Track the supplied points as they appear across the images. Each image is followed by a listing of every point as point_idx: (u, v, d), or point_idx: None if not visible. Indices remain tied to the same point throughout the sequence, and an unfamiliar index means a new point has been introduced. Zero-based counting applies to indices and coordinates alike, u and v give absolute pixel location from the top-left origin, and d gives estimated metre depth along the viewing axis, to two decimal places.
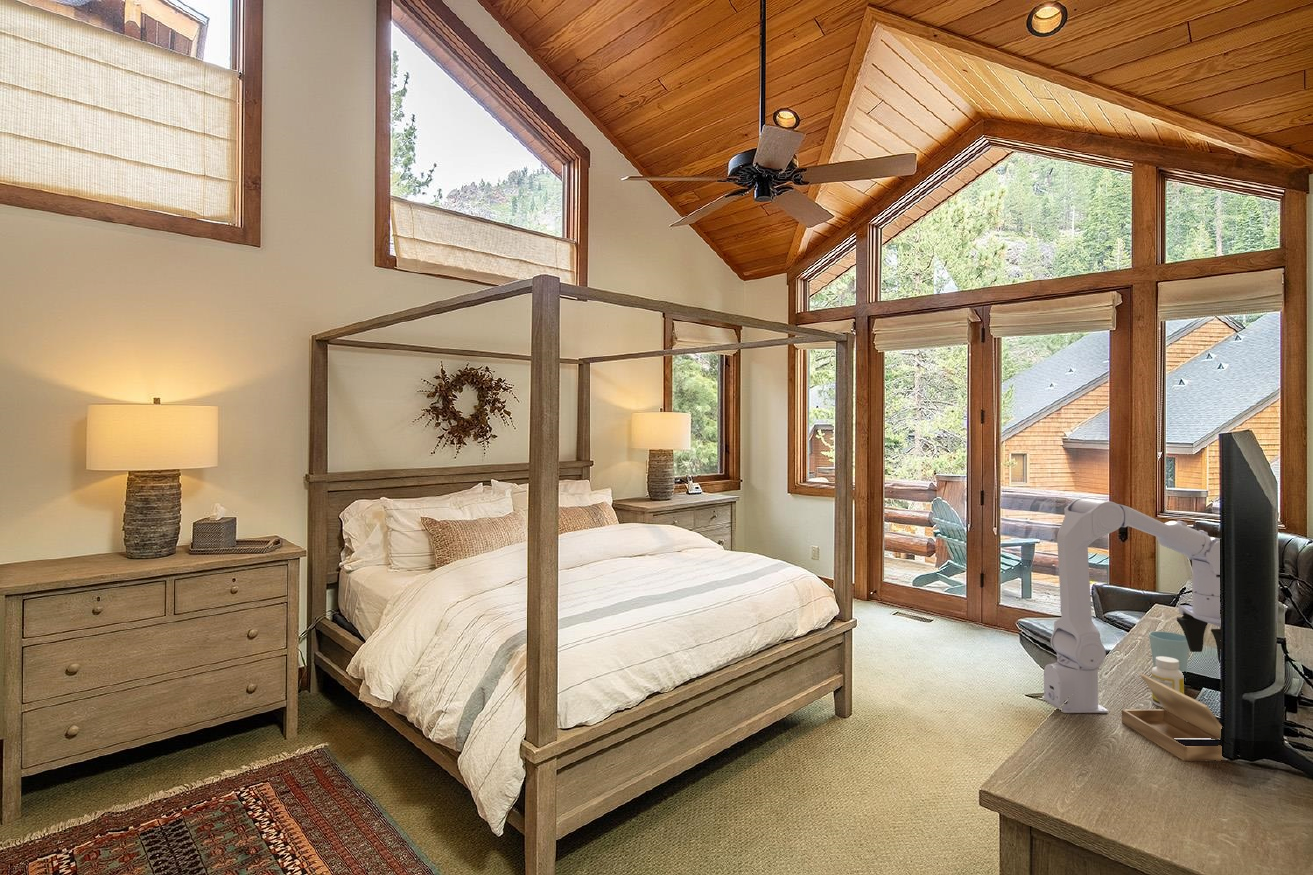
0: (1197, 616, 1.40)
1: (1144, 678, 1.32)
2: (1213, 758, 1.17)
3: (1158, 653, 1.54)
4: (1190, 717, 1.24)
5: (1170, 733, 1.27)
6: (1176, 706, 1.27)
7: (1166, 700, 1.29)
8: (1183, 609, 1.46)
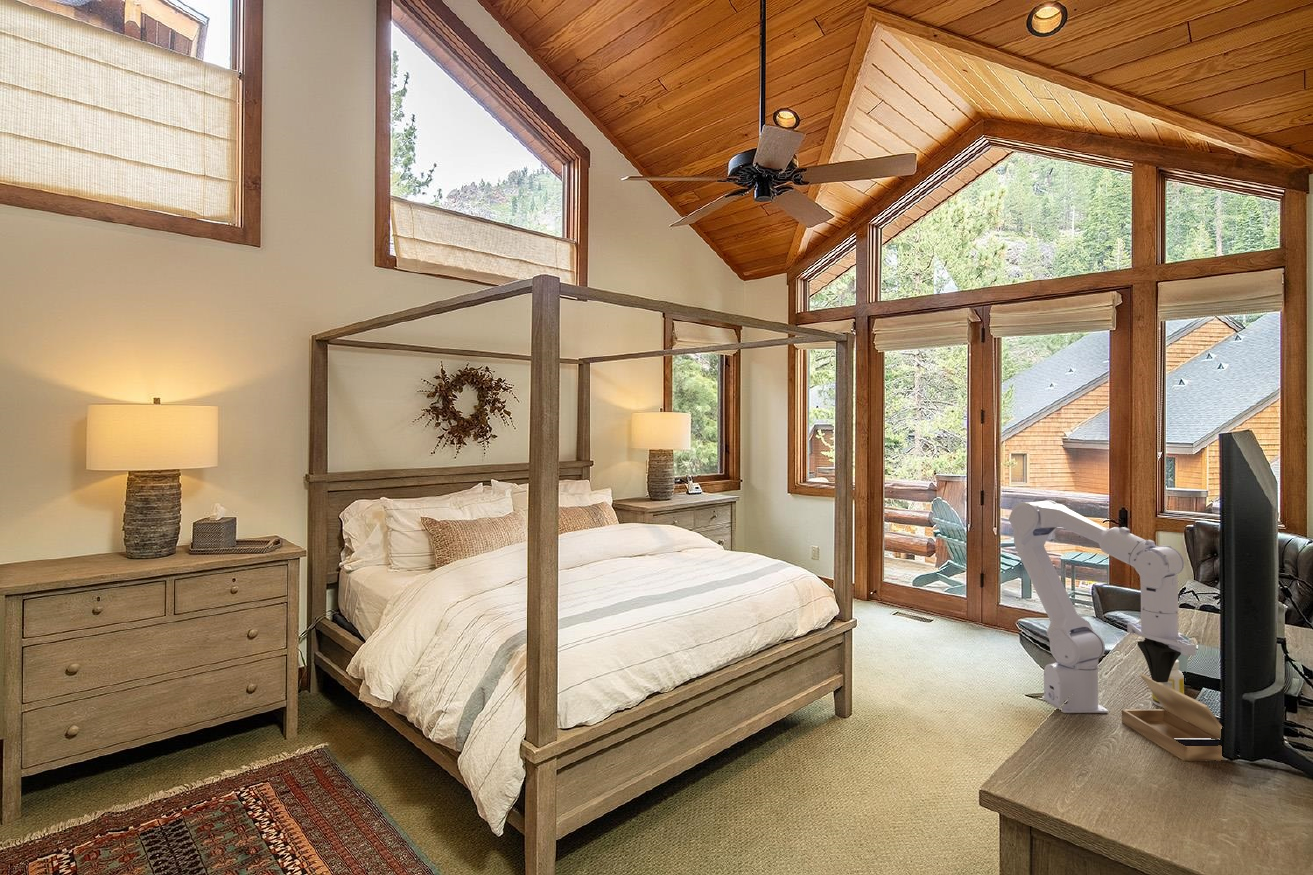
0: (1145, 635, 1.26)
1: (1144, 678, 1.32)
2: (1213, 758, 1.17)
3: None
4: (1190, 717, 1.24)
5: (1170, 733, 1.27)
6: (1176, 706, 1.27)
7: (1166, 700, 1.29)
8: (1132, 627, 1.32)
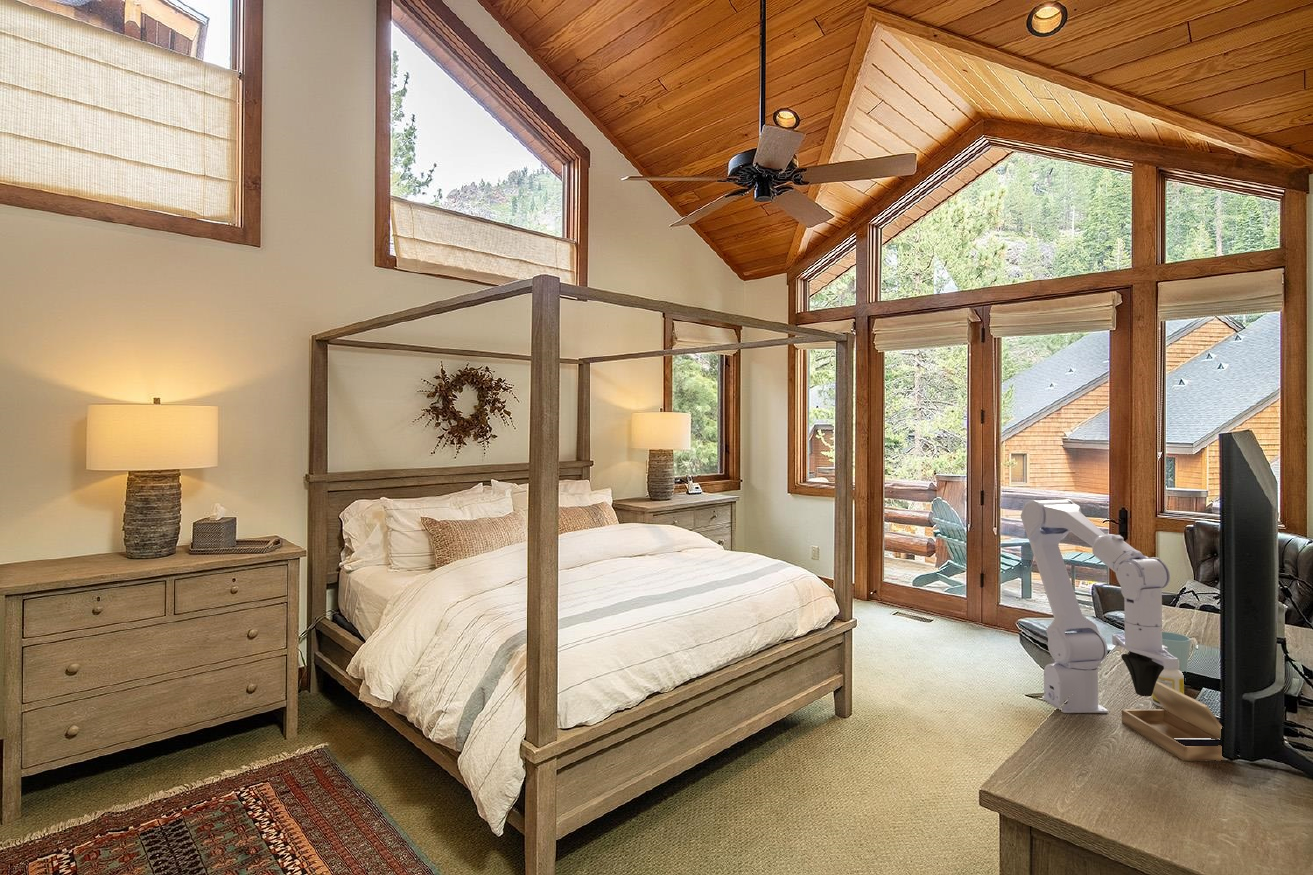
0: (1129, 648, 1.24)
1: None
2: (1213, 758, 1.17)
3: None
4: (1190, 717, 1.24)
5: (1170, 733, 1.27)
6: (1176, 706, 1.27)
7: (1166, 700, 1.29)
8: (1116, 639, 1.30)
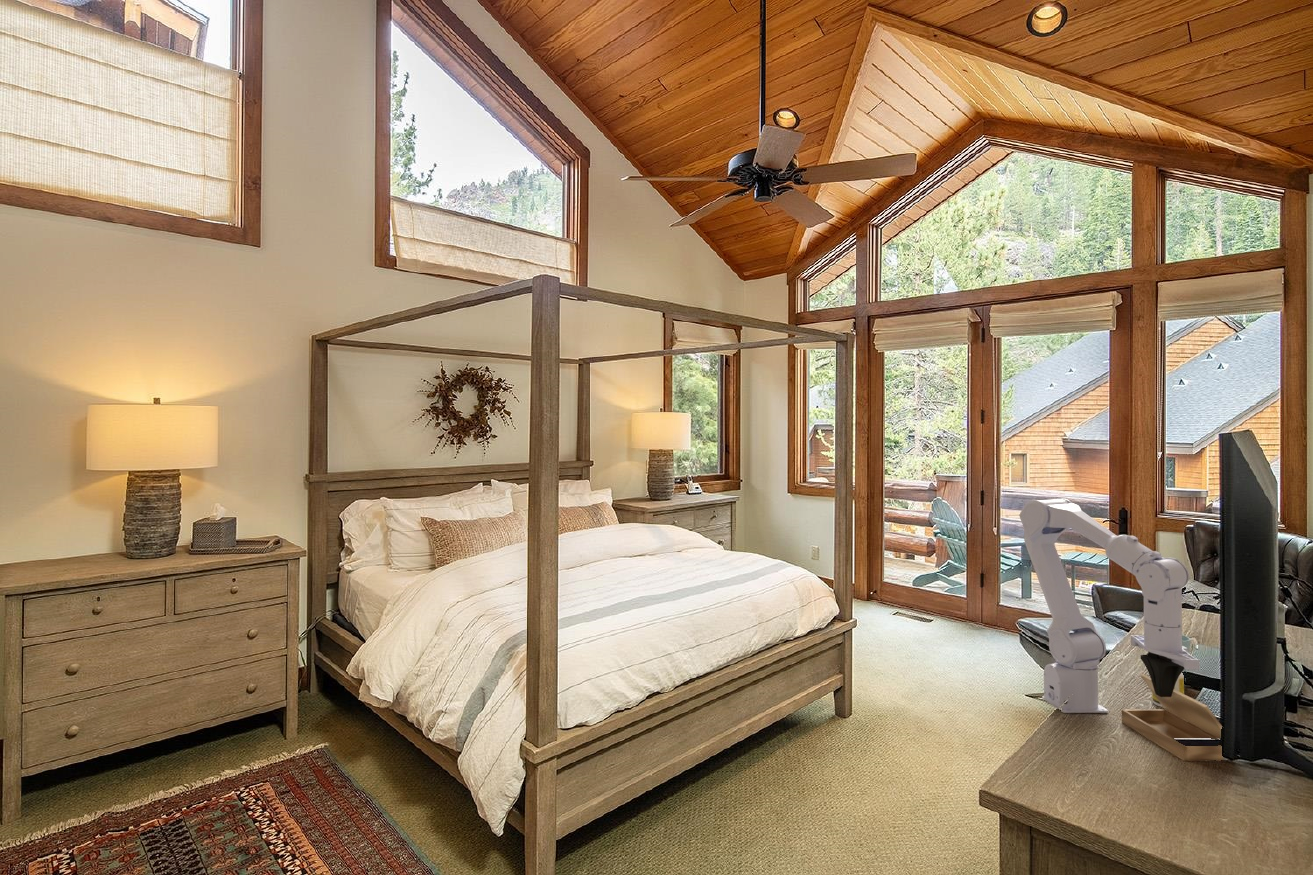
0: (1148, 649, 1.24)
1: (1144, 678, 1.32)
2: (1213, 758, 1.17)
3: None
4: (1190, 717, 1.24)
5: (1170, 733, 1.27)
6: (1176, 706, 1.27)
7: (1166, 700, 1.29)
8: (1135, 640, 1.30)
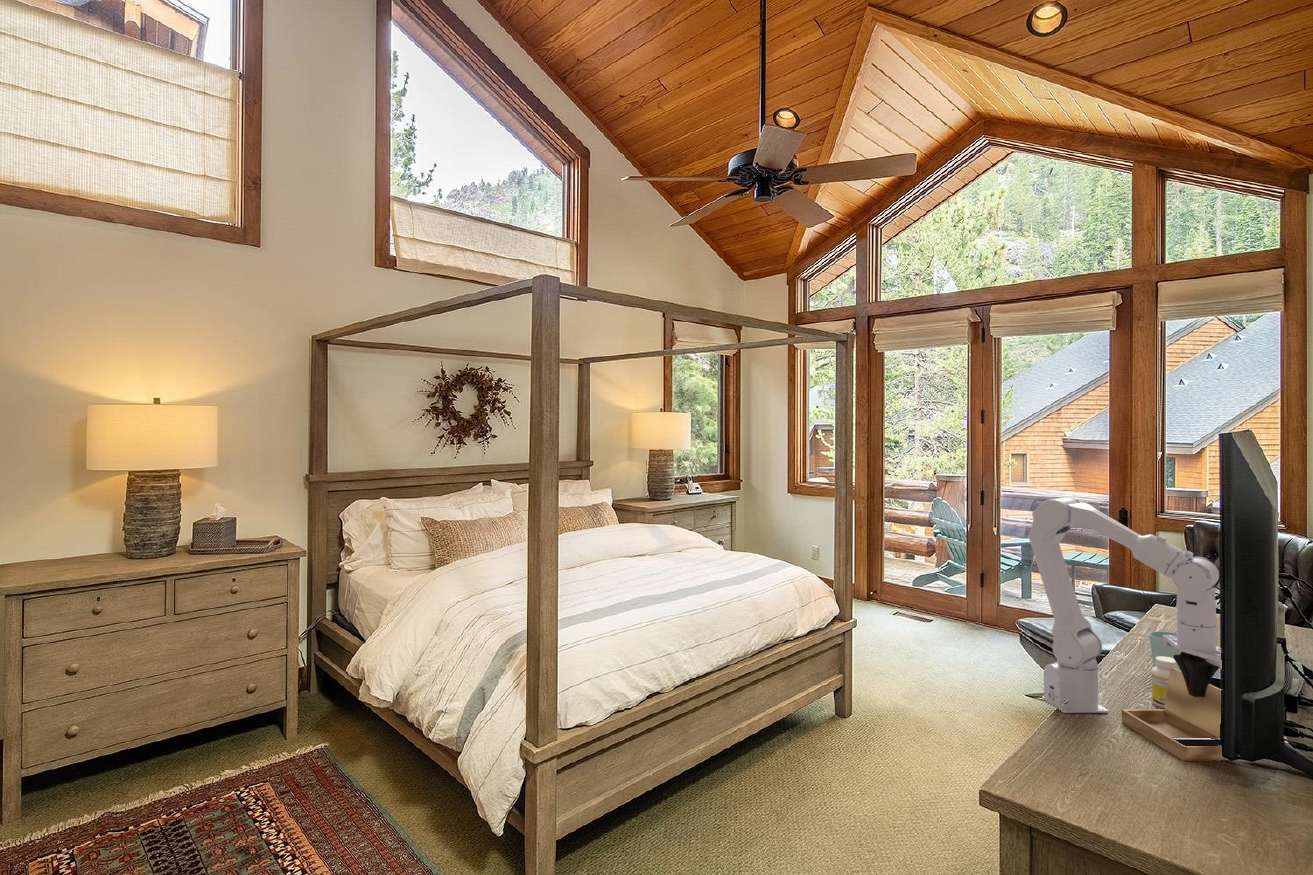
0: (1182, 649, 1.24)
1: (1174, 671, 1.32)
2: (1213, 758, 1.17)
3: (1158, 653, 1.54)
4: (1199, 715, 1.24)
5: (1170, 733, 1.27)
6: (1190, 703, 1.27)
7: (1181, 696, 1.29)
8: (1167, 640, 1.30)
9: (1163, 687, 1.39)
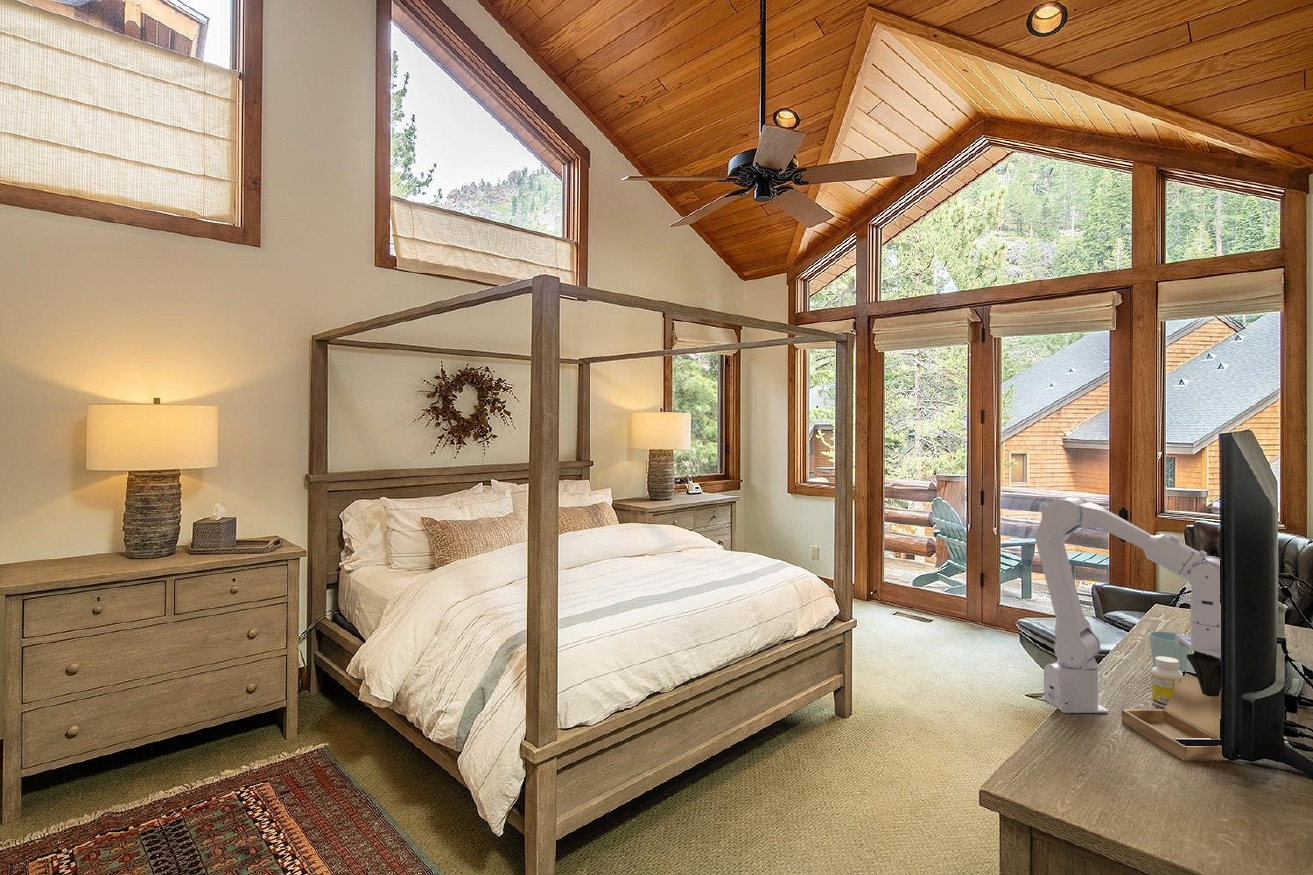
0: (1196, 649, 1.24)
1: (1188, 676, 1.32)
2: (1213, 758, 1.17)
3: (1158, 653, 1.54)
4: (1203, 716, 1.24)
5: (1170, 733, 1.27)
6: (1196, 705, 1.27)
7: (1189, 699, 1.29)
8: (1180, 639, 1.30)
9: (1163, 687, 1.39)
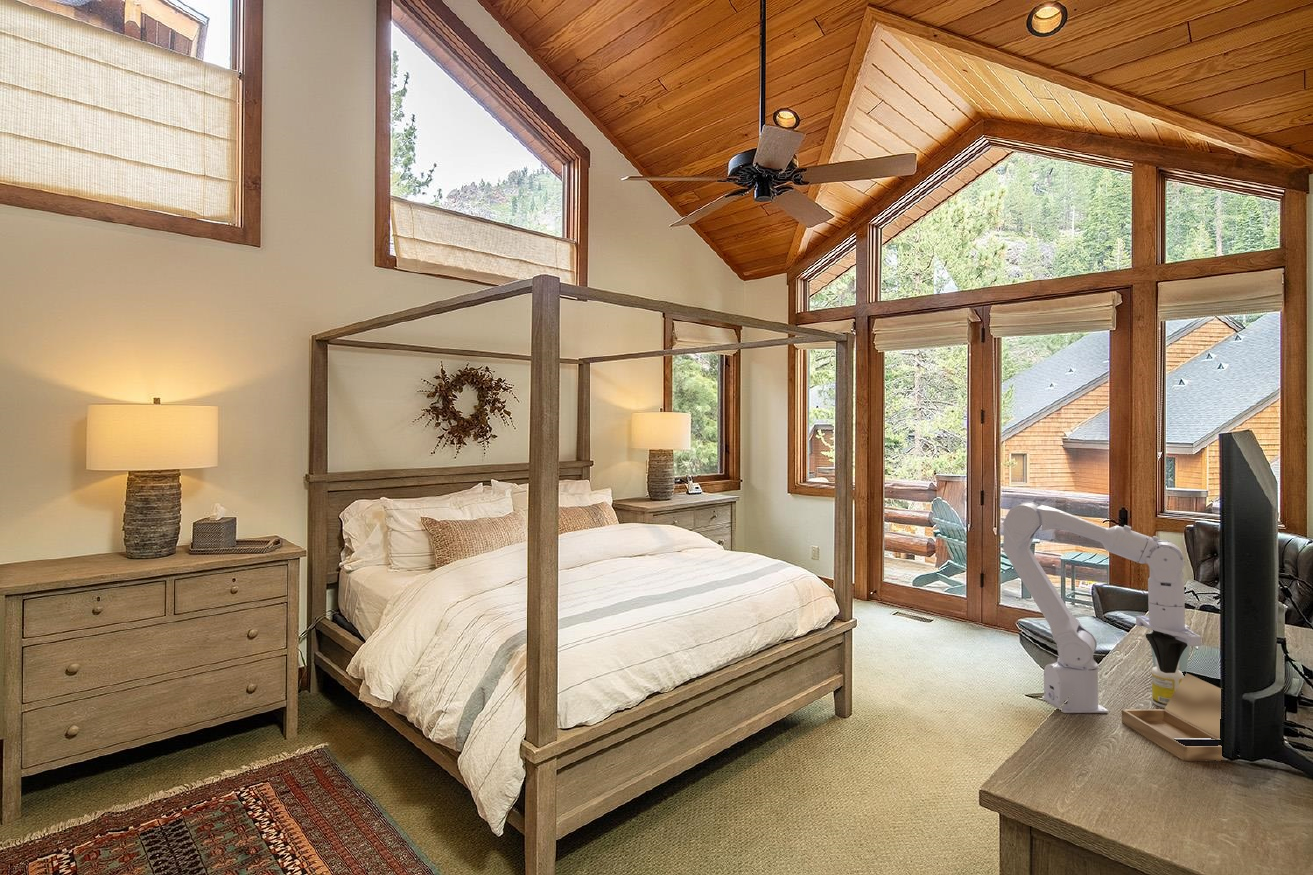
0: (1153, 628, 1.31)
1: (1188, 676, 1.32)
2: (1213, 758, 1.17)
3: None
4: (1203, 716, 1.24)
5: (1170, 733, 1.27)
6: (1196, 705, 1.27)
7: (1189, 699, 1.29)
8: (1140, 620, 1.37)
9: (1163, 687, 1.39)
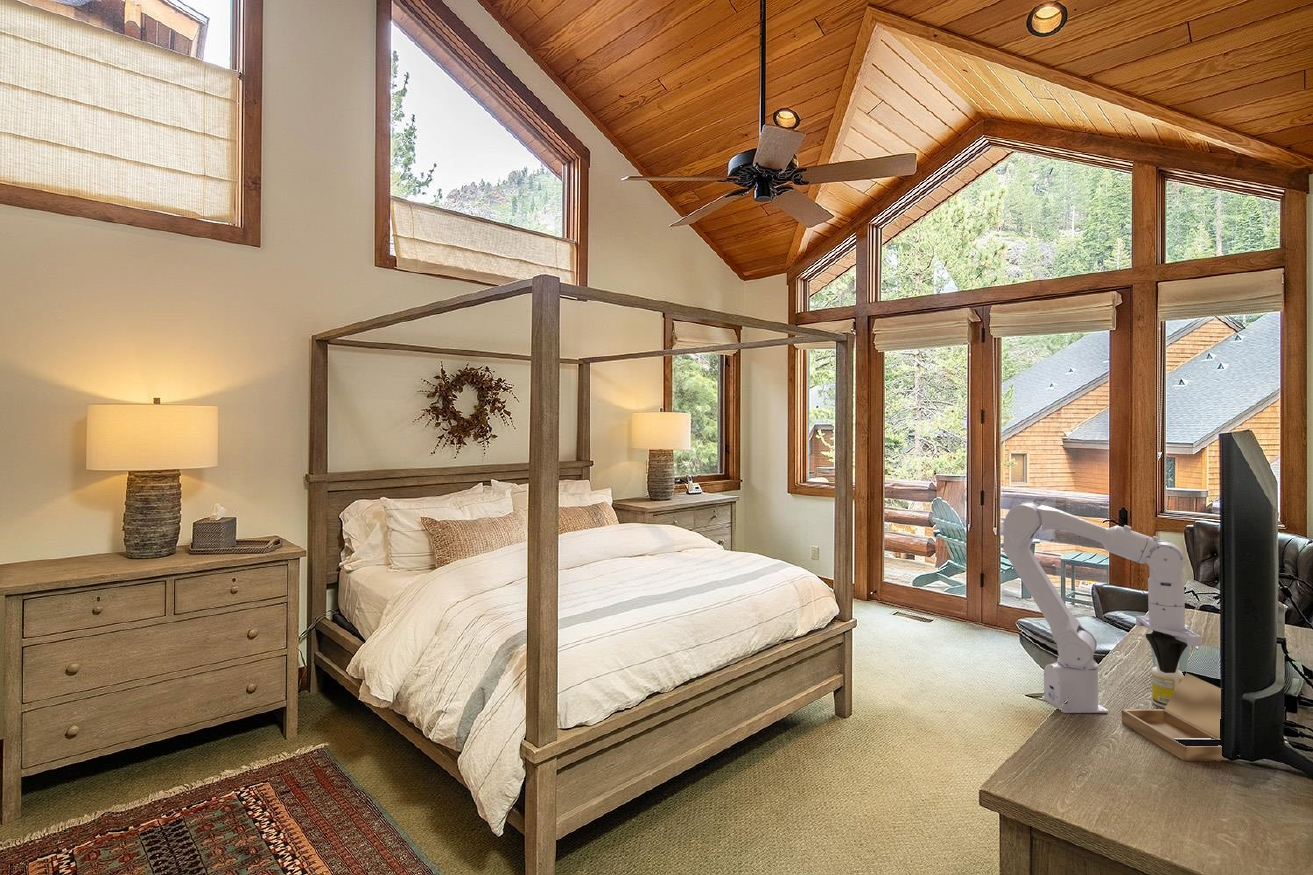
0: (1153, 628, 1.31)
1: (1188, 676, 1.32)
2: (1213, 758, 1.17)
3: None
4: (1203, 716, 1.24)
5: (1170, 733, 1.27)
6: (1196, 705, 1.27)
7: (1189, 699, 1.29)
8: (1140, 620, 1.37)
9: (1163, 687, 1.39)
